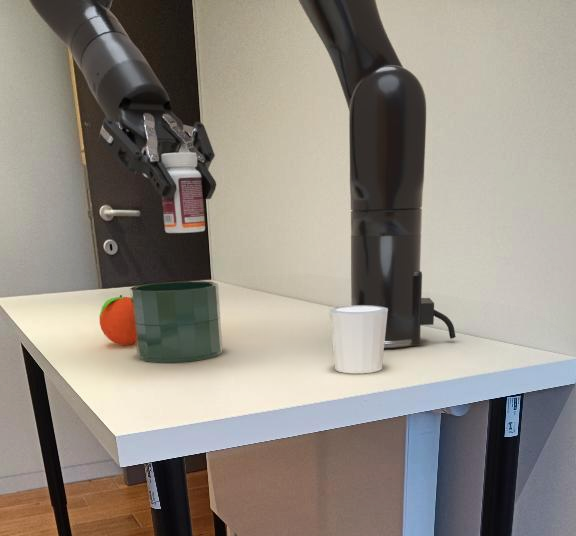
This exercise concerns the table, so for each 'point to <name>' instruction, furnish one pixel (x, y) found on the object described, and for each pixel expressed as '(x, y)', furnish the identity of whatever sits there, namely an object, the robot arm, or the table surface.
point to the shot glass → (358, 338)
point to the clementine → (118, 320)
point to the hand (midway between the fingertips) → (191, 193)
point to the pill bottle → (184, 194)
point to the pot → (177, 321)
